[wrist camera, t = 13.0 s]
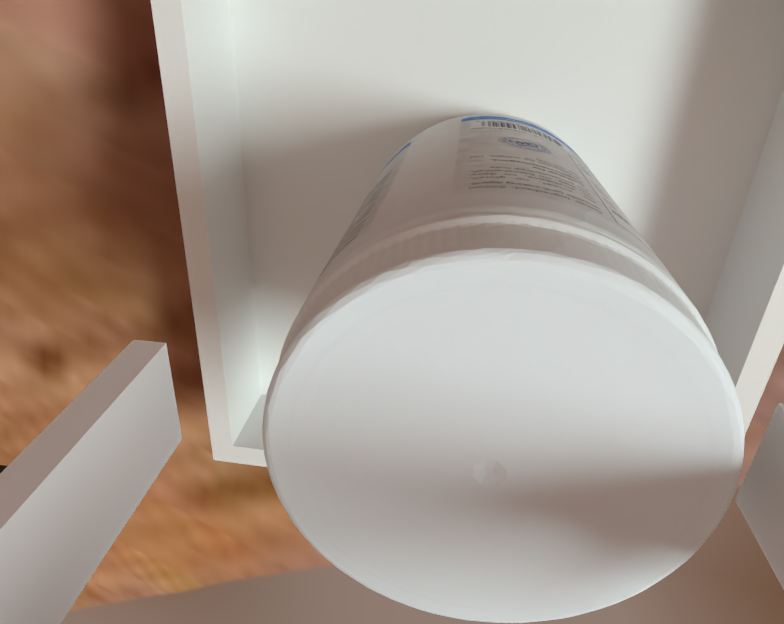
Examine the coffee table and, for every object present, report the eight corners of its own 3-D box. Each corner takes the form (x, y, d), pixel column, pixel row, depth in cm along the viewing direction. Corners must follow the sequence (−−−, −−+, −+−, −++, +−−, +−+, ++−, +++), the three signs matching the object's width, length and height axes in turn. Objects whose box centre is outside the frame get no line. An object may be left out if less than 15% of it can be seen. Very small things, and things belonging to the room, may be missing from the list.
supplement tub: (432, 356, 27) (389, 667, 14) (325, 180, 24) (147, 379, 11) (638, 273, 24) (817, 577, 11) (546, 56, 21) (652, 135, 8)
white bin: (251, 396, 31) (213, 460, 27) (206, -97, 21) (133, -124, 17) (673, 446, 29) (706, 525, 25) (857, -77, 19) (971, -102, 14)
